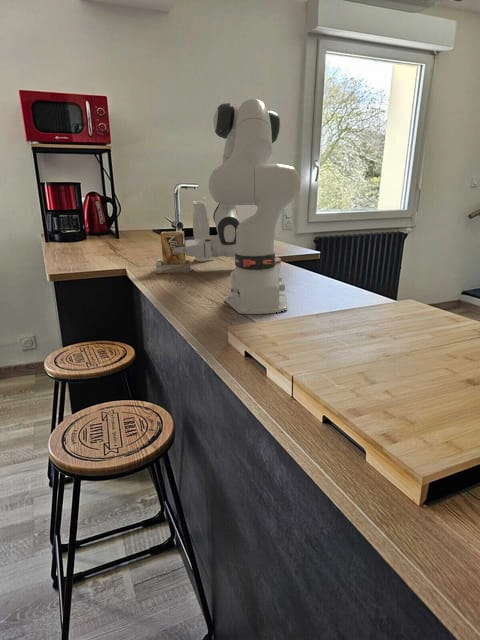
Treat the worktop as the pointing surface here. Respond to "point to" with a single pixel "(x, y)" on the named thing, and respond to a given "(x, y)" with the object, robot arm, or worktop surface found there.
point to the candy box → (168, 243)
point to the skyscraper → (200, 224)
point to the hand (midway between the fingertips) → (173, 248)
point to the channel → (172, 268)
